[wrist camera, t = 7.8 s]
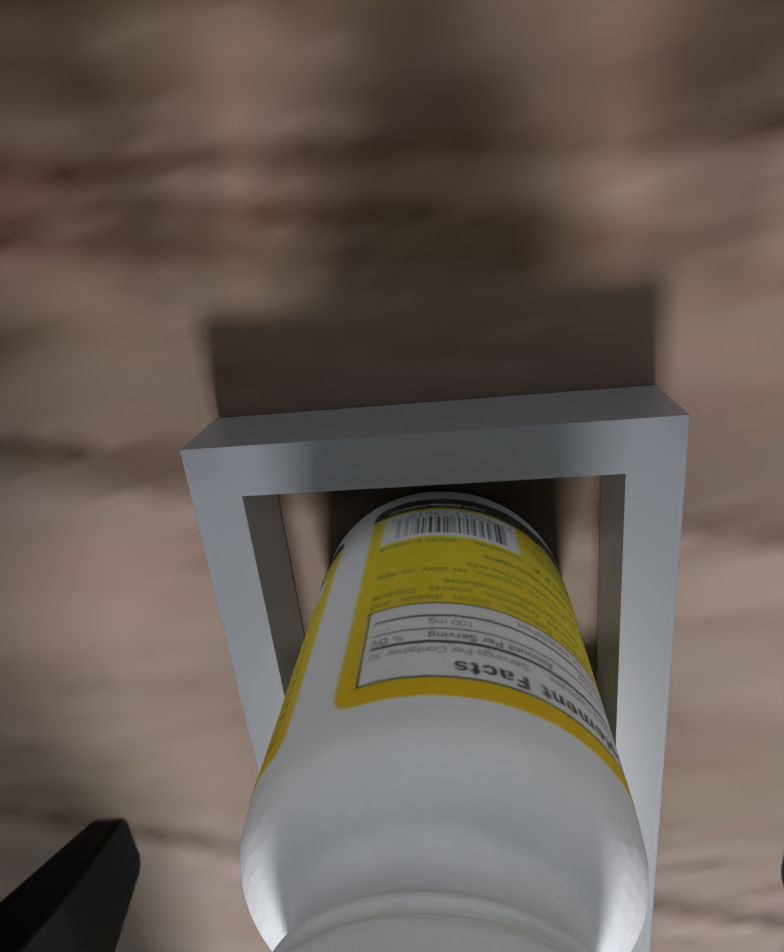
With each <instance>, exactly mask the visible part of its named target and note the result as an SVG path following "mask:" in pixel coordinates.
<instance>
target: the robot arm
mask: <svg viewBox="0 0 784 952" xmlns="http://www.w3.org/2000/svg"><path fill="white" fill-rule="evenodd" d="M140 867H141V859H140V853H139V850H138V848H137V845H136V842H135V839H134V837H133V834H132V831H131V828H130V826H129V823H128V821H127V820H125V819H124V818H115V817H103V818H98V819H96V820H94V821H93V822H91V823H90V824H89V825H88V826H87V827H85V828H84V829H83V830H82V831H81V832H80V833H79V834H77V835H76V836H75V837H74V838H73V839H72V840H71V841H69V842H68V843H67V844H66V845H65V846H64V847H63V848H61V849H60V850H59V851H58V852H57V853H56V854H55V855H53V856H52V857H51V858H50V859H49V860H48V861H47V862H45V863H44V864H43V865H42V866H41V867H40V868H38V869H37V870H36V871H35V872H34V873H33V874H32V875H30V876H29V877H28V878H27V879H26V880H25V881H24V882H22V883H21V884H20V885H19V886H18V887H17V888H16V889H14V890H13V891H12V892H11V893H10V894H9V895H8V896H6V897H5V898H4V899H3V900H2V901H1V902H0V952H116V949H117V945H118V942H119V939H120V936H121V932H122V929H123V926H124V923H125V919H126V916H127V913H128V909H129V906H130V903H131V900H132V896H133V893H134V890H135V887H136V883H137V880H138V877H139V873H140ZM781 878H782V883H783V887H784V852H783V858H782V863H781Z"/></svg>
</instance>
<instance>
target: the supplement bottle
mask: <svg viewBox="0 0 784 952" xmlns="http://www.w3.org/2000/svg"><path fill="white" fill-rule="evenodd" d="M240 867H241V881H242V886H243V890H244V895H245V899H246V903H247V905H248V908H249V911H250V914H251V916H252V918H253V920H254V923H255V925H256V927H257V929H258V930H259V932H260V934H261V935H262V937H263V939H264V940H265V942H266V943H267V945H268V946H269V947H270V949H271V950H272V951H273V952H631V951H632V949H633V947H634V945H635V943H636V941H637V939H638V936H639V934H640V932H641V929H642V927H643V923H644V919H645V915H646V911H647V904H648V897H649V869H648V860H647V854H646V849H645V845H644V841H643V837H642V833H641V829H640V825H639V821H638V817H637V813H636V809H635V806H634V802H633V799H632V796H631V793H630V790H629V787H628V783H627V780H626V777H625V774H624V771H623V768H622V764H621V761H620V758H619V755H618V752H617V749H616V746H615V743H614V740H613V736H612V733H611V730H610V726H609V723H608V720H607V717H606V714H605V711H604V707H603V704H602V701H601V698H600V694H599V691H598V688H597V685H596V681H595V678H594V675H593V672H592V669H591V666H590V663H589V659H588V656H587V653H586V650H585V647H584V644H583V641H582V637H581V634H580V631H579V628H578V625H577V621H576V618H575V615H574V612H573V608H572V605H571V602H570V599H569V596H568V593H567V590H566V587H565V584H564V582H563V579H562V576H561V573H560V571H559V568H558V566H557V563H556V561H555V559H554V557H553V555H552V553H551V551H550V549H549V548H548V546H547V545H546V544H545V542H544V541H543V539H542V538H541V537H540V535H539V534H538V533H537V532H536V531H535V530H534V529H533V528H532V527H531V526H530V525H529V524H528V523H527V522H526V521H524V520H523V519H522V518H521V517H520V516H518V515H517V514H515V513H514V512H512V511H511V510H509V509H507V508H506V507H504V506H502V505H500V504H498V503H495V502H493V501H490V500H488V499H485V498H482V497H479V496H475V495H471V494H466V493H459V492H443V491H440V492H424V493H417V494H412V495H409V496H405V497H402V498H399V499H396V500H393V501H391V502H389V503H387V504H385V505H383V506H381V507H379V508H377V509H375V510H374V511H372V512H371V513H369V514H368V515H366V516H365V517H364V518H363V519H361V520H360V521H359V522H358V523H357V524H356V525H355V526H354V527H353V528H352V529H351V530H350V531H349V532H348V534H347V535H346V536H345V538H344V539H343V540H342V541H341V543H340V545H339V546H338V548H337V550H336V552H335V554H334V556H333V558H332V561H331V563H330V565H329V568H328V570H327V573H326V576H325V578H324V581H323V584H322V586H321V589H320V592H319V596H318V599H317V602H316V605H315V608H314V611H313V614H312V617H311V620H310V623H309V626H308V629H307V632H306V635H305V638H304V641H303V644H302V647H301V650H300V653H299V656H298V659H297V662H296V665H295V667H294V671H293V674H292V677H291V680H290V683H289V686H288V689H287V692H286V695H285V698H284V701H283V704H282V708H281V711H280V714H279V717H278V720H277V723H276V726H275V729H274V732H273V734H272V737H271V740H270V743H269V746H268V749H267V752H266V755H265V758H264V761H263V764H262V767H261V770H260V772H259V775H258V778H257V781H256V784H255V787H254V791H253V794H252V797H251V801H250V806H249V811H248V814H247V818H246V821H245V825H244V829H243V835H242V842H241V851H240Z"/></svg>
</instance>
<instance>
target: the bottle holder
mask: <svg viewBox="0 0 784 952" xmlns="http://www.w3.org/2000/svg"><path fill="white" fill-rule="evenodd" d="M689 419H690V415H689V414H688V413H687V412H686V411H685V410H684V409H682V408H681V407H680V406H679V405H678V404H677V403H675V402H674V401H673V400H672V399H671V398H670V397H669V396H667V395H666V394H665V393H664V392H663V391H662V390H661V389H659V388H658V387H657V386H656V385H648V386H635V387H622V388H609V389H595V390H582V391H569V392H556V393H542V394H529V395H516V396H503V397H490V398H476V399H463V400H450V401H437V402H423V403H410V404H397V405H384V406H370V407H357V408H344V409H331V410H317V411H304V412H291V413H278V414H265V415H251V416H238V417H225V418H217V419H216V420H215V421H213V422H212V423H211V424H210V425H209V426H208V427H206V428H205V429H204V430H203V431H202V432H201V433H199V434H198V435H197V436H196V437H195V438H194V439H192V440H191V441H190V442H189V443H188V444H187V445H185V446H184V447H183V448H182V449H181V450H180V453H181V457H182V461H183V465H184V469H185V473H186V477H187V481H188V485H189V490H190V494H191V498H192V502H193V506H194V510H195V514H196V518H197V522H198V526H199V530H200V534H201V539H202V543H203V547H204V551H205V555H206V559H207V563H208V567H209V571H210V575H211V579H212V583H213V588H214V592H215V596H216V600H217V604H218V608H219V612H220V616H221V620H222V624H223V628H224V632H225V637H226V641H227V645H228V649H229V653H230V657H231V661H232V665H233V669H234V673H235V677H236V681H237V686H238V690H239V694H240V698H241V702H242V706H243V710H244V714H245V718H246V722H247V726H248V730H249V735H250V739H251V743H252V747H253V751H254V755H255V759H256V763H257V767H258V771H259V772H260V770H261V767H262V764H263V761H264V758H265V755H266V752H267V749H268V746H269V743H270V740H271V737H272V734H273V732H274V729H275V726H276V723H277V720H278V717H279V714H280V711H281V708H282V704H283V701H284V698H285V695H286V692H287V689H288V686H289V683H290V680H291V677H292V674H293V671H294V667H295V665H296V662H297V659H298V656H299V653H300V650H301V647H302V644H303V641H304V632H303V627H302V622H301V617H300V611H299V606H298V601H297V595H296V590H295V585H294V579H293V574H292V569H291V564H290V558H289V553H288V548H287V542H286V537H285V532H284V526H283V521H282V516H281V510H280V505H279V500H278V495H277V494H290V493H307V492H324V491H341V490H358V489H375V488H392V487H409V486H426V485H443V484H460V483H477V482H494V481H511V480H528V479H545V478H562V477H579V476H596V475H601V494H600V542H599V590H598V638H597V688H598V691H599V694H600V698H601V701H602V704H603V707H604V711H605V714H606V717H607V720H608V723H609V726H610V730H611V733H612V736H613V740H614V743H615V746H616V749H617V752H618V755H619V758H620V761H621V764H622V768H623V771H624V774H625V777H626V780H627V783H628V787H629V790H630V793H631V796H632V799H633V802H634V806H635V809H636V813H637V817H638V821H639V825H640V829H641V833H642V837H643V841H644V845H645V849H646V854H647V860H648V869H649V897H648V904H647V911H646V915H645V919H644V923H643V927H642V929H641V932H640V934H639V936H638V939H637V941H636V943H635V945H634V947H633V949H632V951H631V952H650V939H651V926H652V913H653V899H654V886H655V873H656V859H657V846H658V833H659V819H660V806H661V793H662V779H663V766H664V753H665V739H666V726H667V713H668V699H669V686H670V673H671V659H672V646H673V633H674V619H675V606H676V592H677V579H678V566H679V552H680V539H681V526H682V512H683V499H684V486H685V472H686V459H687V446H688V432H689Z"/></svg>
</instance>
